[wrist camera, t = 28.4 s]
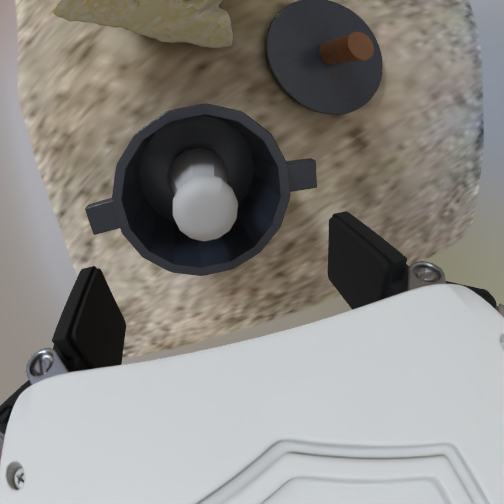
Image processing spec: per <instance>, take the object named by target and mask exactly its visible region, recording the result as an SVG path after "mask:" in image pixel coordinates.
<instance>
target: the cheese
mask: <svg viewBox="0 0 504 504" xmlns="http://www.w3.org/2000/svg"><path fill="white" fill-rule="evenodd" d="M222 1H223V0H60V1H59V2H58V4H57V5H56V6H55V8H54V10H53V12H54V14H55V15H56V16H58V17H61V18H64V19H66V20H68V21H81V22H90V23H96V24H99V25H104V26H110V27H123V28H125V29H127V30H130V31H132V32H134V33H137V34H141V35H144V36H147V37H149V38H156V39H157V40H159V41H160V42H169V43H176V42H188V43H190V44H194V45H197V46H200V47H209V48H225V47H228V46H231V45H232V39H233V36H234V35H233V32H232V30H231V21H230V16H229V14H228V12H227V11H226V10H223V9H221V8H219V4H220V3H221V2H222Z"/></svg>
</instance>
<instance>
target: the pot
mask: <svg viewBox="0 0 504 504" xmlns="http://www.w3.org/2000/svg"><path fill="white" fill-rule="evenodd" d="M195 148H203V149H207V150H211V151H214V152H215V153H216V154H217V155H218V156H219V157H220V158H221V159H222V160H223V161H224V164H225V166H226V169H227V171H228V176H227V184H228V185H229V186H230V187H231V188H232V189H233V192H234V194H235V197H236V199H237V202H238V209H237V218H236V220H235V222H234V224H233V225H232V227H231V229H230V231H228V232H227V233H225V234H224V235H222V236H221V237H219V238H218V239H213V240H209V241H200V240H196V239H191V238H190V237H188V236H187V235H185V234H184V233H183V232H181V231H180V229H179V227H178V225H177V223H176V221H175V219H174V217H173V198H174V196H173V193H172V191H171V189H170V187H169V185H168V170H169V169H170V167H171V165H172V163H173V161H174V159H175V158H176V157H178V156H179V155H180V154H182V153H183V152H184V151H186V150H190V149H195ZM311 188H317V180H316V161H315V160H313V159H311V158H309V159H301V160H293V161H286V160H285V158H284V156H283V155H282V153H281V151H280V149H279V147H278V145H277V143H276V142H275V140H274V138H273V136H272V135H271V134H270V132H268V131H267V130H266V129H264V128H263V127H262V126H261V125H259V124H258V123H257V122H255V121H254V120H253V119H251V118H250V117H249V116H247V115H246V114H245V113H242V112H241V111H237V110H233V109H228V108H224V107H220V106H215V105H211V104H200V105H194V106H189V107H184V108H179V109H174V110H170V111H167V112H165V113H164V114H162V115H161V116H159V117H158V118H156V119H155V120H153V121H152V122H151V123H149V124H148V125H146V126H145V127H143V128H142V129H141V130H139V131H138V132H137V133H136V134H135V135H134V137H133V138H132V140H131V141H130V143H129V145H128V146H127V148H126V150H125V151H124V153H123V155H122V156H121V158H120V160H119V161H118V163H117V166H116V171H115V178H114V186H113V195H112V198H110V199H106V200H103V201H99V202H96V203H92V204H89V205H88V206H87V207H86V208H85V210H86V213H87V216H88V219H89V222H90V225H91V228H92V231H93V234H94V235H95V234H99V233H103V232H107V231H110V230H114V229H118V228H120V229H121V232H122V234H123V235H124V236H125V237H126V238H127V239H128V241H129V242H130V243H131V244H132V245H133V247H134V248H135V249H136V250H137V251H138V252H139V254H140V255H141V256H142V257H143V258H145V259H147V260H149V261H151V262H153V263H155V264H156V265H158V266H160V267H162V268H164V269H166V270H168V271H170V272H174V273H182V274H190V275H199V276H202V275H203V276H204V275H209V274H213V273H217V272H222V271H226V270H231V269H234V268H236V267H237V266H239V265H241V264H242V263H244V262H246V261H247V260H249V259H250V258H252V257H254V256H255V255H257V254H258V253H260V252H261V251H262V250H263V248H264V247H265V246H266V245H267V243H268V242H269V241H270V240H271V238H272V237H273V236H274V235H275V233H276V232H277V231H278V230H279V228H280V227H281V224H282V221H283V218H284V214H285V211H286V208H287V205H288V202H289V199H290V192H292V191H298V190H304V189H311Z"/></svg>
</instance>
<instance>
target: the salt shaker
mask: <svg viewBox="0 0 504 504" xmlns="http://www.w3.org/2000/svg"><path fill="white" fill-rule="evenodd" d="M227 176H228V171H227V169H226V166H225V164H224V161H223V160H222V159H221V158H220V157H219V156H218V155H217V154H216V153H215V152H214V151H211V150H207V149H203V148H195V149H190V150H186V151H184V152H183V153H182V154H180V155H179V156H178V157H176V158H175V159H174V161H173V163H172V165H171V167H170V169H169V170H168V185H169V187H170V189H171V191H172V193H173V196H174V198H173V217H174V219H175V221H176V223H177V225H178V227H179V229H180V231H181V232H183V233H184V234H185V235H187V236H188V237H190V238H191V239H196V240H200V241H209V240H213V239H218V238H219V237H221V236H222V235H224V234H225V233H227V232H228V231H230V229H231V227H232V225H233V224H234V222H235V220H236V218H237V209H238V202H237V199H236V197H235V194H234V192H233V189H232V188H231V187H230V186H229V185H228V184H227Z"/></svg>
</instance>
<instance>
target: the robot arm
mask: <svg viewBox="0 0 504 504" xmlns="http://www.w3.org/2000/svg"><path fill="white" fill-rule="evenodd" d="M406 261H407V258H406V257H405V256H404V255H402V254H401V253H400V252H399V251H398V250H396V249H395V248H394V247H393V246H391V245H390V244H389V243H388V242H386V241H385V240H384V239H383V238H381V237H380V236H379V235H378V234H376V233H375V232H374V231H372V230H371V229H370V228H369V227H367V226H366V225H365V224H363V223H362V222H361V221H359V220H358V219H357V218H355V217H354V216H353V215H351V214H350V213H349V212H347V211H346V212H341V213H335V214H333V216H332V218H330V219H329V248H328V277H329V280H330V281H331V282H332V284H333V285H334V286H335V288H336V289H337V290H338V291H339V293H340V294H341V295H342V297H343V298H344V299H345V300H346V302H347V303H348V304H349V306H350V307H351V308H352V310H350V311H347V312H344V313H341V314H338V315H335V316H332V317H329V318H325V319H322V320H318V321H315V322H312V323H308V324H305V325H301V326H298V327H295V328H291V329H288V330H284V331H280V332H276V333H273V334H269V335H265V336H261V337H258V338H253V339H249V340H245V341H241V342H237V343H233V344H229V345H224V346H220V347H216V348H211V349H207V350H202V351H197V352H192V353H187V354H182V355H177V356H171V357H166V358H160V359H155V360H149V361H143V362H137V363H130V364H124V365H121V363H122V354H123V346H124V338H125V331H126V323H125V320H124V318H123V316H122V314H121V312H120V310H119V308H118V306H117V303H116V301H115V299H114V297H113V295H112V293H111V291H110V289H109V286H108V284H107V282H106V280H105V278H104V275H103V273H102V271H101V270H100V269H97V268H96V267H95V266H93V267H89V268H85V269H82V270H81V271H80V273H79V276H78V278H77V280H76V282H75V284H74V286H73V289H72V291H71V293H70V296H69V298H68V300H67V303H66V305H65V307H64V310H63V312H62V315H61V317H60V320H59V323H58V325H57V328H56V331H55V333H54V336H53V339H52V341H53V343H54V347H53V349H51V348H44V349H41V350H39V351H38V352H36V353H35V354H34V355H33V356H32V357H31V358H30V360H29V362H28V364H27V367H26V372H27V376H28V379H29V380H28V381H27V382H26V383H25V384H24V385H22V386H21V387H20V388H19V389H18V390H17V391H16V392H15V393H14V394H13V395H11V396H10V397H9V398H8V399H7V400H6V401H5V402H4V403H3V404H2V405H1V406H0V504H504V305H502V304H499V306H496V301H495V299H494V298H493V296H492V295H491V294H490V293H489V292H488V291H486V290H484V289H479V288H475V287H470V286H466V285H461V284H456V283H452V282H448V281H446V280H445V275H444V272H443V271H442V270H441V268H439V267H438V266H437V265H435V264H432V263H429V262H425V261H419V262H414V263H412V264H411V265H410V266H408V265H407V264H406Z"/></svg>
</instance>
